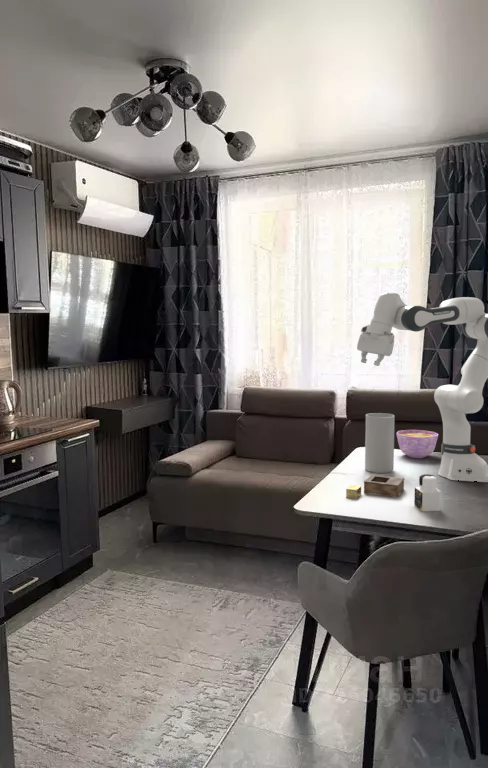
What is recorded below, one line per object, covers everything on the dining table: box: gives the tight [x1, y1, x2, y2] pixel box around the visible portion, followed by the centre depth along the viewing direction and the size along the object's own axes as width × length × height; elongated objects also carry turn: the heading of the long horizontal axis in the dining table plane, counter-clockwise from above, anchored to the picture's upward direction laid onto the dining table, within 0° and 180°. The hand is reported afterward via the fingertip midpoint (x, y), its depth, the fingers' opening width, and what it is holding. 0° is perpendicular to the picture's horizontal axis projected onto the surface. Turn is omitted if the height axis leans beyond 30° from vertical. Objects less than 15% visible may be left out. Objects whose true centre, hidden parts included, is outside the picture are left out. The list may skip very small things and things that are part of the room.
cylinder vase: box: [364, 412, 395, 474], centre depth 262 cm, size 12×12×25 cm
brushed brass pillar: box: [345, 484, 362, 499], centre depth 224 cm, size 4×6×4 cm, turn 152°
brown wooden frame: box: [363, 474, 405, 498], centre depth 229 cm, size 13×11×5 cm
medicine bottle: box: [413, 474, 442, 513], centre depth 208 cm, size 7×7×12 cm
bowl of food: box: [395, 429, 439, 459], centre depth 289 cm, size 20×20×12 cm
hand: (369, 364), depth 236 cm, fingers open, 8 cm apart
